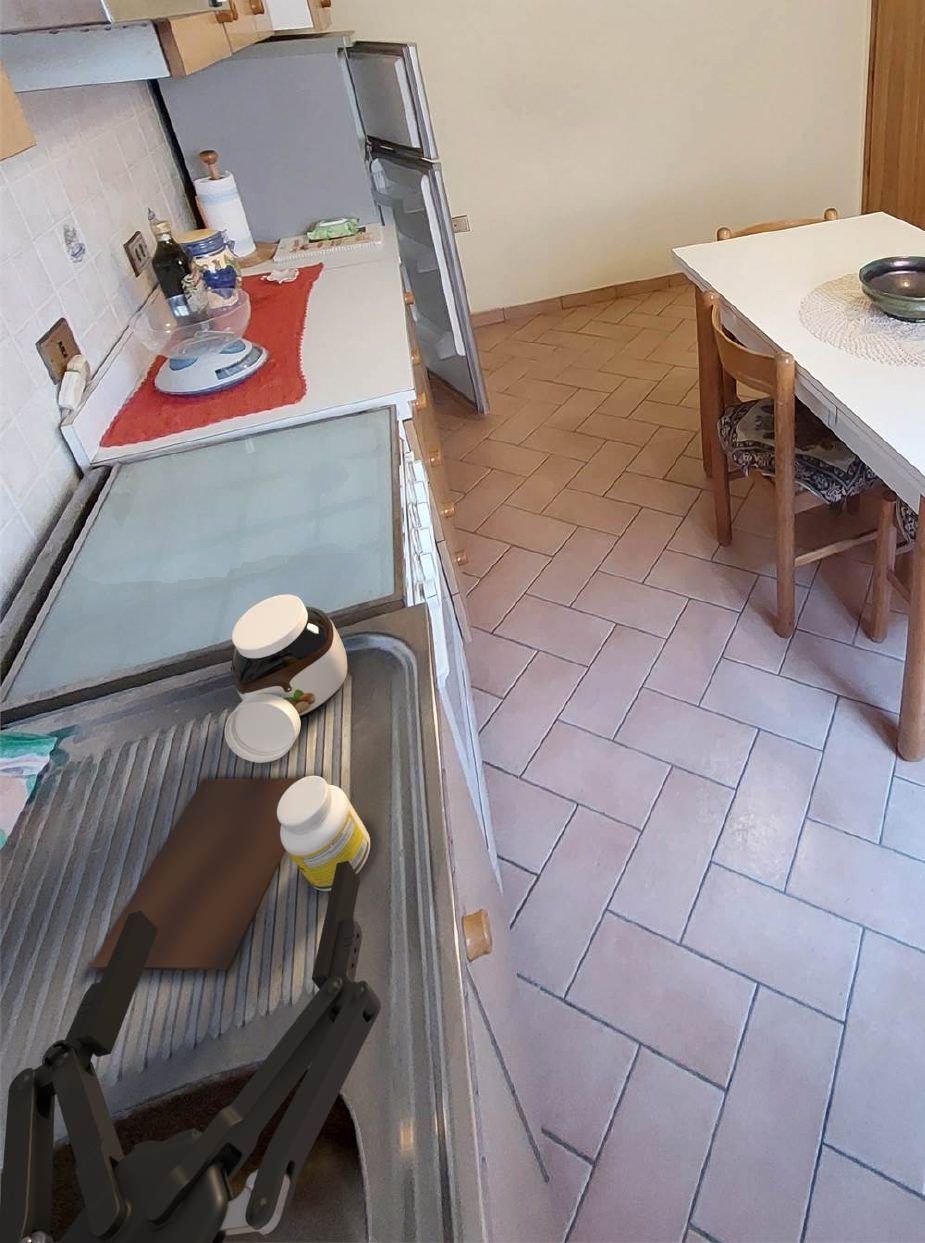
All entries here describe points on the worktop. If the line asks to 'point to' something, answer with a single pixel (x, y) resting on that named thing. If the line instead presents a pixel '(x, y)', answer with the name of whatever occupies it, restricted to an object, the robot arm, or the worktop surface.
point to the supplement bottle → (321, 830)
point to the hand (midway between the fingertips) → (248, 895)
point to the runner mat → (209, 875)
